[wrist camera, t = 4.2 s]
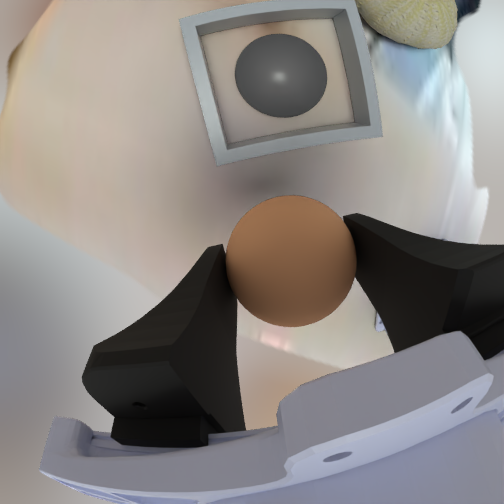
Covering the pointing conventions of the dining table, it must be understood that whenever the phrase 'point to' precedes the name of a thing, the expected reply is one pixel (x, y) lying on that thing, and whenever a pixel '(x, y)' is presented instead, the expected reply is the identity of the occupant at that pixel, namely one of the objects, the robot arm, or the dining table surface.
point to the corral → (284, 75)
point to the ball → (291, 261)
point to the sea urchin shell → (412, 20)
